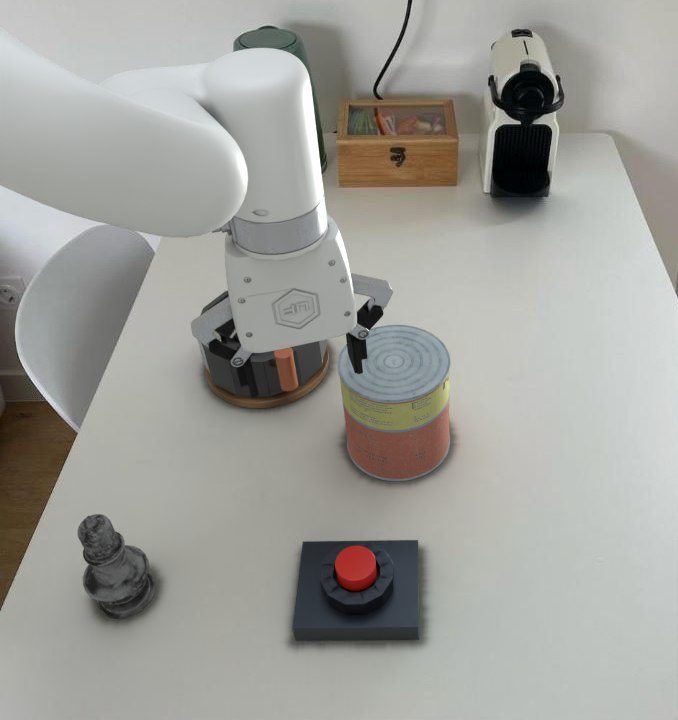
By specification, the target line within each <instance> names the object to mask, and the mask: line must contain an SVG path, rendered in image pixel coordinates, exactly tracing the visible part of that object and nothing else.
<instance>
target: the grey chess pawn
mask: <svg viewBox="0 0 678 720" xmlns="http://www.w3.org/2000/svg"><path fill="white" fill-rule="evenodd" d="M77 538H78V540H79V542H80V544H81V545H82V548H83V550H82V558H83V559H84V561H85V562H86V563H87V566H86V568H85V570H84V572H83V576H82V586H83V589H84V591H85V593H86V594H87V595H88V596H89V597H90V598H91V599H94V600H96V602H97V607H98V609H99V611H100V612H101V613H102V614H103V615H104V616H106V617H108V618H110V619H116V620H119V619H120V620H121V619H127V618H131V617H133V616H135V615H137V614H139V613H140V612H142V611H143V610H144V609H145V608H146V607H147V606H148V605H149V604H150V602H152V599H153V597H154V595H155V590H156V585H155V581H154V578H153V576H152V575H151V574H150V573H149V570H150V562H149V559H148V556H147V554H146V553H145V552H144V551H143V550H142V549H141V548H139V547H137V546H134V545H129V544H126V541H125V538H124V536H123V534H121V533H120V532H118V531H116V530H115V528H114V525H113V524H112V522H111V519H110V518H109V517H108V516H107V515H105V514H101V513H97V514H96V513H95V514H91V515H87V516H86V517H85V518H83V520H82V521H81V522H80V523H79V525H78V527H77Z"/></svg>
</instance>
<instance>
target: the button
mask: <svg viewBox="0 0 678 720" xmlns="http://www.w3.org/2000/svg"><path fill="white" fill-rule="evenodd" d="M335 569H336V575H337V579H338V582H339V583H340V584H341V586H343V587H344V588H346V589H348V590H351V591H360V590H363V589H366V588H367V587H369V586H370V585H371V584H372V583H373V582H374V580H375V578H376V575H377V569H376V560H375V556H374V555H373V553H372V552H371V551H370V550H369V549H367V548H365V547H362V546H351V547H348V548H346V549H344V550H343V551H341V552H340V553H339V555H338V556H337V558H336V561H335Z"/></svg>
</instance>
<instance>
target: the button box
mask: <svg viewBox="0 0 678 720" xmlns="http://www.w3.org/2000/svg"><path fill="white" fill-rule="evenodd" d="M351 546H362V547H365V548H367V549H369V550H370V551H371V552H372V553H373V555H374V556H375V560H376V569H377V575H376V578H375V580H374V582H373V583H372V584H371V585H370V586H369V587H367V588H366V589H363V590H360V591H351V590H348V589H346V588H344V587H343V586H341V584H340V583H339V582H338V579H337V575H336V569H335V561H336V558H337V556H338V555H339V553H340V552H341V551H343V550H344V549H346V548H348V547H351ZM419 551H420V549H419V540H418V539H396V540H395V539H392V540H391V539H387V540H386V539H384V540H383V539H382V540H380V539H379V540H315V541H314V540H313V541H311V540H310V541H309V540H308V541H302V545H301V553H300V562H299V568H298V569H299V571H298V576H297V577H298V579H297V585H296V596H295V602H294V603H295V604H294V611H293V612H294V613H293V621H292V632H293V636H294V641H296V642H304V641H305V642H309V641H311V642H313V641H315V642H316V641H318V642H319V641H404V640H405V641H407V640H410V641H411V640H413V641H416V640H417V641H418V640H420V563H419V562H420V552H419Z"/></svg>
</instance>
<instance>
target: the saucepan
mask: <svg viewBox="0 0 678 720" xmlns="http://www.w3.org/2000/svg"><path fill="white" fill-rule="evenodd" d="M228 296H229V293H228V289H227V290H225V291H224V292H222V293H220V295H218V296H217V297H215V298H214V299H213V300H212V301H210V302H209V303H207V304H206V305H205V306H204V307H203V308H202V309H201V312H200V315H202V314H203V313H205V312H206V311H208V310H209V309H211V308H212V307H214V306H215V305H217V304H218V303H220V302H221V301H223V300H224V299H226V298H227V297H228ZM234 329H236V328H235V324H234V320H233V318H232V319H231V320H229V321H228V322H226V323H225V324H223V325H222V326H220V327H219V328H217V329H216V330H215V331H217V332H219V333H221V334H224V335H226V336H228V337H230V336H231V335H232V333H233V332H234V331H233V330H234ZM327 343H328V342H327V339H325V340H321V341H316V342H312V343H307V344H303V345H298V346H293V347H289V348H284V349H279V350H275V351H270V352H264V353H252V354H251V355H250V358H251V362H252V367H253V371H254V376H255V380H256V384H257V389H258V393H259V395H258V396H268V397H270V396H273V395H276V394H280V393H283V392H286V391H293V390H295V389H296V388H297V387H299V386H301V385H303V384H304V383H305V382H306V381H307V380H308V379H309V378H310V377H311V376H312V375H314V374H315V373H316V372H317V371H318V370H319V369H320V368H321V367H322V365H323V361H324V356H325V351H326V347H327V346H328V344H327ZM197 344H198V346H199V350H200V353H201V358H202V361H203V365H204V368H205V367H206V369H207V371H208V373H209V375H210V378H211V380H212V382H213V383H214V384H216V385H218V386H219V387H221V388H223V389H225V390H227V391H229V392H231V393H233V394H235V395H238V396H251V394H250V390H249V386H248V385H247V386H243V387H241V386H240V382H239V378H238V374H237V370H236V367H234V366H232V365H231V361H229V360H226V359H224V358H222V357H220V356H217V355H215V354H213V353H211V352H210V351H209V348H208V347H207V346H204V345H203V344H202V343H201V342H200V341H199V340H198V339H197Z"/></svg>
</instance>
